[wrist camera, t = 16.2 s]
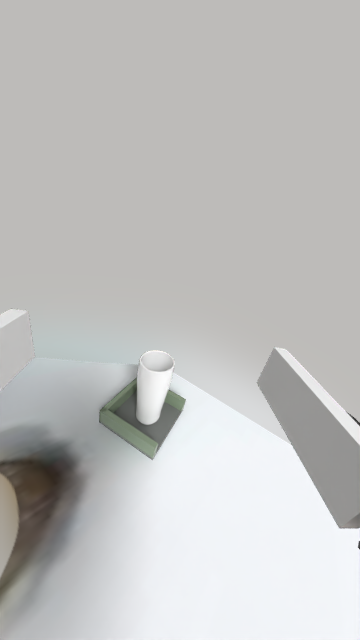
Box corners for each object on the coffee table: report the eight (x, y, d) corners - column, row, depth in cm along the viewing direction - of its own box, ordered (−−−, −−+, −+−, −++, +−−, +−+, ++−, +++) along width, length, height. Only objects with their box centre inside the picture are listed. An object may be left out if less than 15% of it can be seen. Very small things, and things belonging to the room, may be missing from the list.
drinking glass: (150, 436, 38) (162, 378, 32) (125, 417, 41) (131, 360, 34) (168, 412, 44) (181, 359, 38) (145, 397, 46) (153, 345, 40)
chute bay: (99, 422, 39) (99, 410, 38) (138, 384, 50) (140, 374, 49) (152, 459, 35) (155, 448, 33) (182, 409, 46) (185, 399, 44)
